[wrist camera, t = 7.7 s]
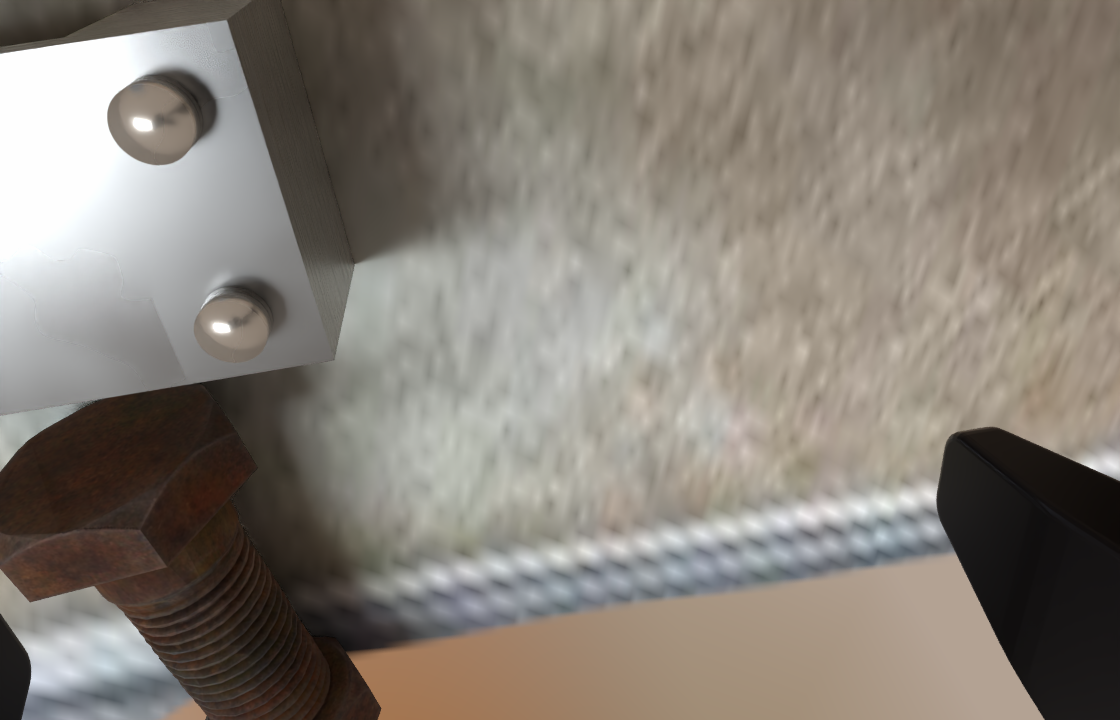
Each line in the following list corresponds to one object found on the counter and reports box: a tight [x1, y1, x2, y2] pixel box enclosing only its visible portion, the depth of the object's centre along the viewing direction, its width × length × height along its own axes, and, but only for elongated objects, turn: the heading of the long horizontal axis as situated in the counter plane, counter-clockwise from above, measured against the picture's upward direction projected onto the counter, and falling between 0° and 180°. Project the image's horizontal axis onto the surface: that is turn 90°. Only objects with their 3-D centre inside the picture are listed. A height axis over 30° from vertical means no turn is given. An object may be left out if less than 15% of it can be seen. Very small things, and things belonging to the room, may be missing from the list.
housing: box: [0, 0, 355, 416], centre depth 15 cm, size 10×6×5 cm, turn 97°
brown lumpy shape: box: [0, 384, 381, 720], centre depth 22 cm, size 6×5×15 cm
